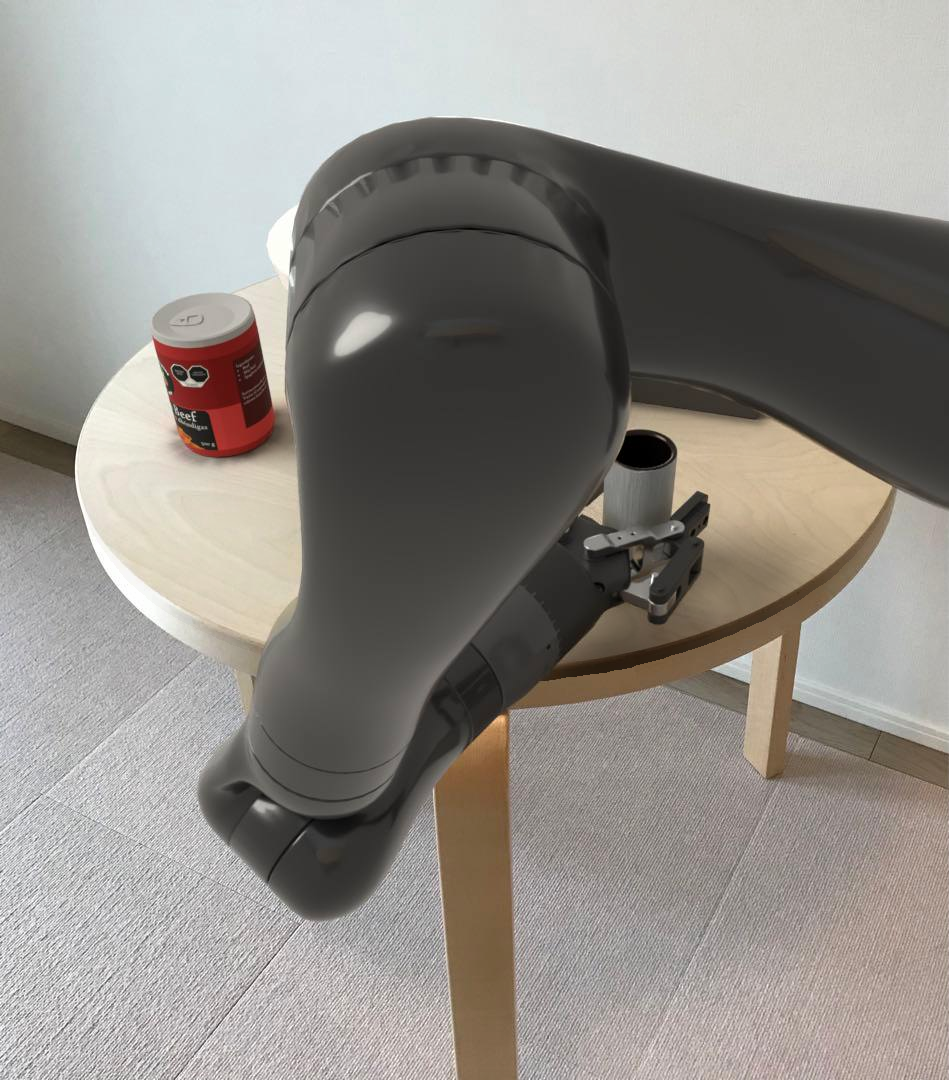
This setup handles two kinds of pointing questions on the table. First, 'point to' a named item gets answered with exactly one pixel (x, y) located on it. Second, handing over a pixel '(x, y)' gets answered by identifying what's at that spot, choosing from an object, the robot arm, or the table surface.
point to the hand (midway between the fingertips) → (656, 484)
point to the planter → (641, 484)
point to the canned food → (214, 373)
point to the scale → (686, 398)
